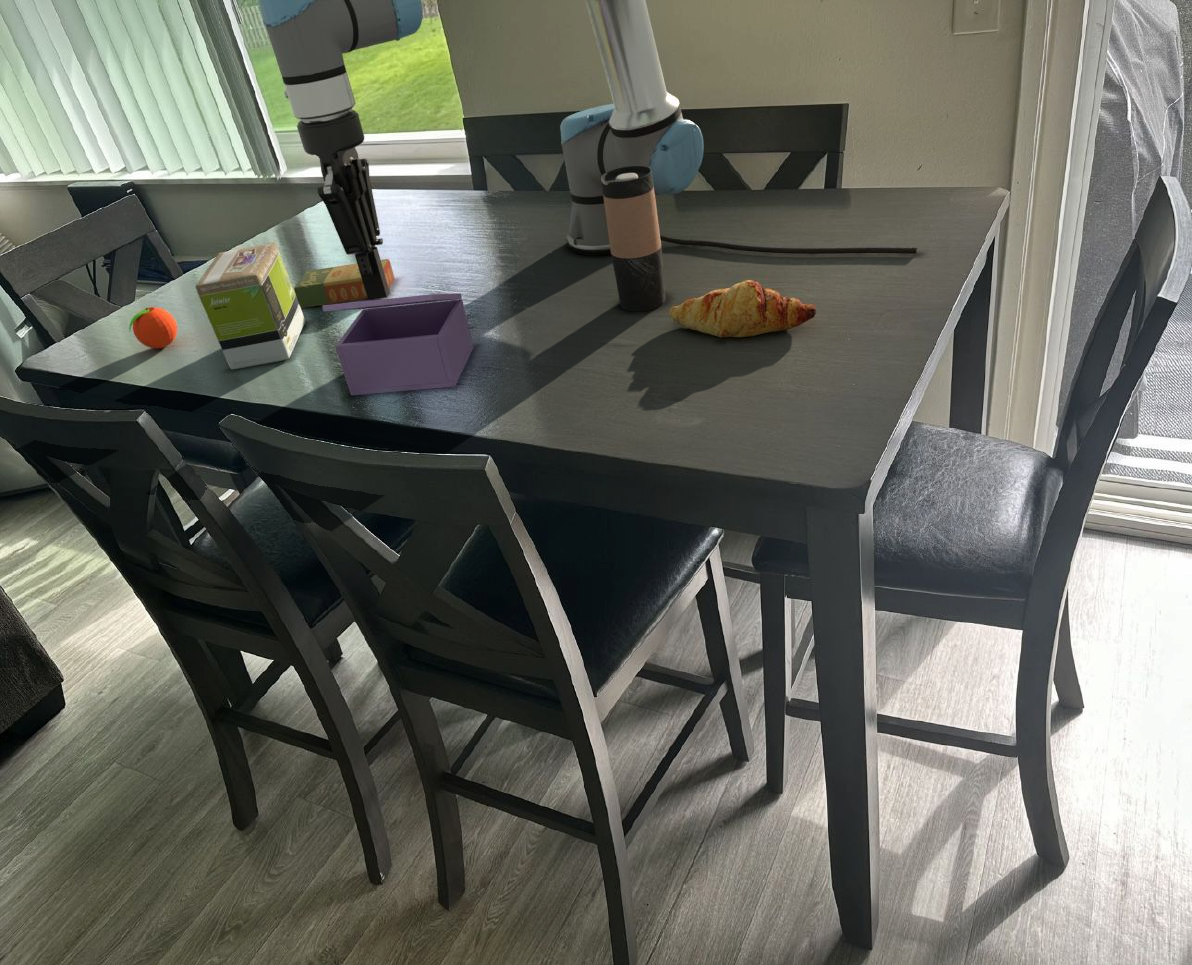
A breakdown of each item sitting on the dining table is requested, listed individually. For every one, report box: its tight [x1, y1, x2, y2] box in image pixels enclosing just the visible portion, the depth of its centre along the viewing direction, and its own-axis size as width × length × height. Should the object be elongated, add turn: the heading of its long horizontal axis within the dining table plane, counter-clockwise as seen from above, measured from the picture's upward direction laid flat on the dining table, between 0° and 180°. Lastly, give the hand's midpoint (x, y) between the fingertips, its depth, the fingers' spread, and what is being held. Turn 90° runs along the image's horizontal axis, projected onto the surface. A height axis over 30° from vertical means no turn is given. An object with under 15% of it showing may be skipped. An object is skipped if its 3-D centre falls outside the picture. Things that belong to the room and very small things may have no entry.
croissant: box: [669, 279, 817, 338], centre depth 132 cm, size 21×10×8 cm, turn 70°
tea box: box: [195, 241, 306, 370], centre depth 150 cm, size 15×10×15 cm, turn 5°
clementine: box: [128, 306, 178, 349], centre depth 159 cm, size 8×7×7 cm
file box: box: [334, 298, 475, 396], centre depth 135 cm, size 13×16×8 cm
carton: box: [293, 258, 395, 309], centre depth 168 cm, size 8×16×4 cm, turn 88°
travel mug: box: [601, 166, 666, 312], centre depth 140 cm, size 8×8×20 cm
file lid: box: [322, 292, 463, 312], centre depth 132 cm, size 13×16×1 cm
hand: (378, 295), depth 126 cm, fingers closed
